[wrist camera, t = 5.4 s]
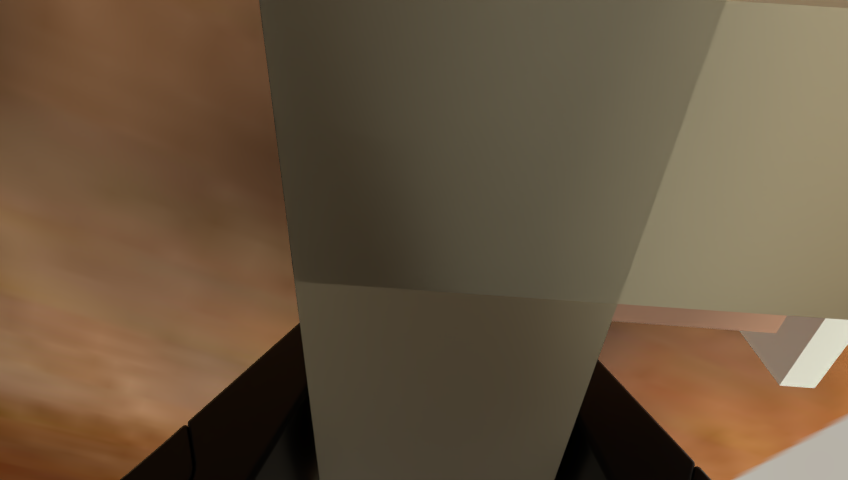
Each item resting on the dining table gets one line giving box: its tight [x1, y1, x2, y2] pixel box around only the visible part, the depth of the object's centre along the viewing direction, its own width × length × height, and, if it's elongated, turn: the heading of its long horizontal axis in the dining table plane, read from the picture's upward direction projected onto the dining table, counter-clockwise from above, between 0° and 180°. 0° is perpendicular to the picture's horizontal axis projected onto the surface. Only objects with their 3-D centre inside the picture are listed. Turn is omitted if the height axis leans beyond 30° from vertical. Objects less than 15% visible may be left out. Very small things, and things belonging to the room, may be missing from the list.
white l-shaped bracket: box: [740, 316, 848, 388], centre depth 14 cm, size 11×15×4 cm
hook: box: [259, 0, 848, 480], centre depth 8 cm, size 12×14×4 cm
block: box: [612, 304, 787, 333], centre depth 14 cm, size 5×5×5 cm
